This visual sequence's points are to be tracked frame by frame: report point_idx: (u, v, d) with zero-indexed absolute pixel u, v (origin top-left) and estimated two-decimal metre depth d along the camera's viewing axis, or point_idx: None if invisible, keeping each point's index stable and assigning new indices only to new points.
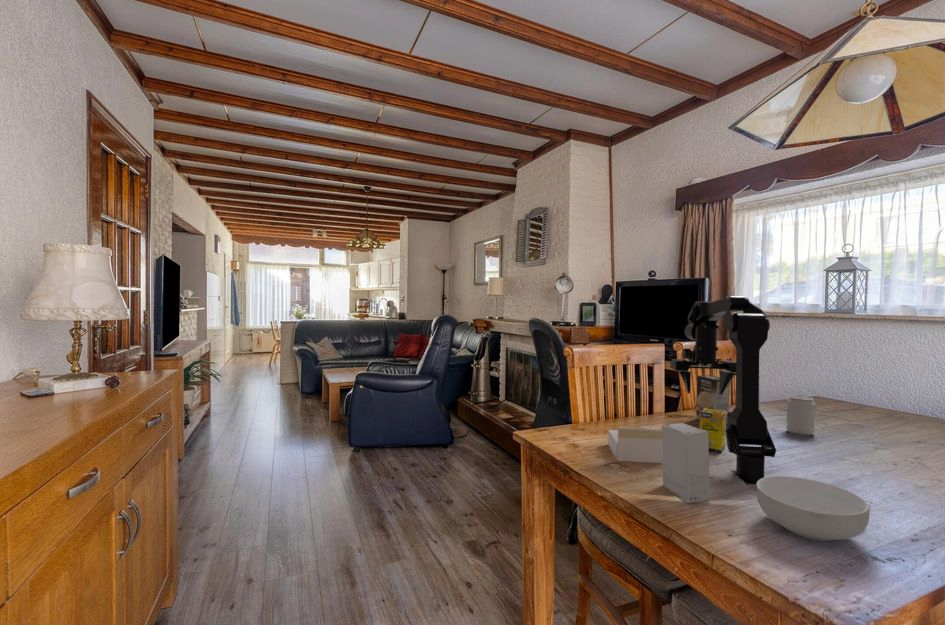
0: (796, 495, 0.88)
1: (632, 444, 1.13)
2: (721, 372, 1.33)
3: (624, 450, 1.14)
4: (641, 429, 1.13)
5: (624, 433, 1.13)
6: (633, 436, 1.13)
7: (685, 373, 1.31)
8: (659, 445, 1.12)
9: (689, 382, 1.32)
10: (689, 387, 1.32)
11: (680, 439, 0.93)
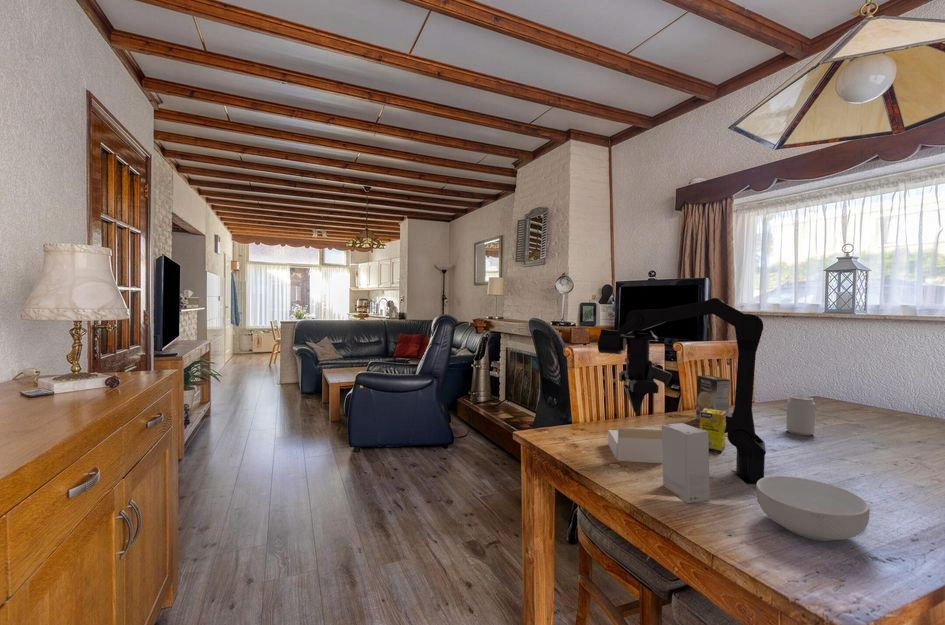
0: (796, 495, 0.88)
1: (632, 444, 1.13)
2: None
3: (624, 450, 1.14)
4: (641, 429, 1.13)
5: (624, 433, 1.13)
6: (633, 436, 1.13)
7: (624, 387, 1.21)
8: (659, 445, 1.12)
9: (629, 398, 1.20)
10: (631, 405, 1.19)
11: (680, 439, 0.93)
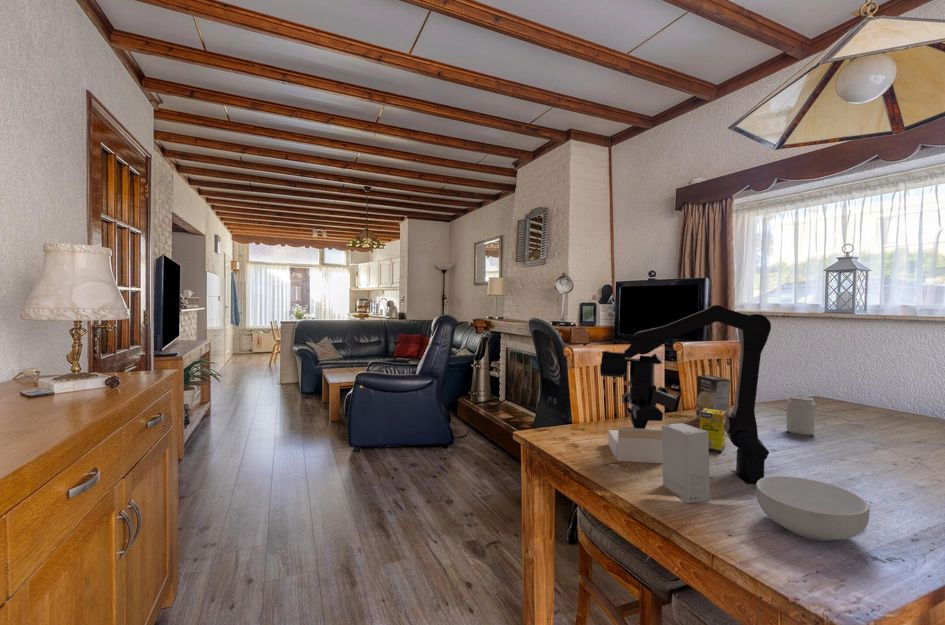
0: (796, 495, 0.88)
1: (632, 444, 1.13)
2: None
3: (624, 450, 1.13)
4: (641, 429, 1.13)
5: (624, 433, 1.13)
6: (633, 436, 1.13)
7: (627, 411, 1.17)
8: (659, 445, 1.12)
9: (632, 423, 1.16)
10: None
11: (680, 439, 0.93)
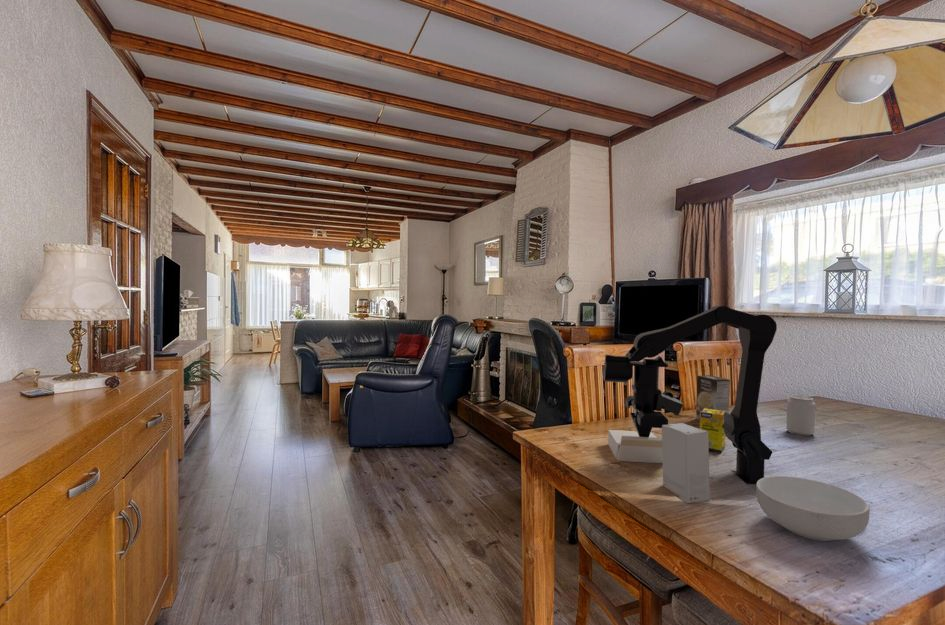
0: (796, 495, 0.88)
1: (634, 450, 1.11)
2: None
3: (625, 454, 1.12)
4: (645, 439, 1.09)
5: (627, 442, 1.10)
6: (636, 445, 1.10)
7: (631, 416, 1.13)
8: (662, 451, 1.10)
9: (636, 429, 1.11)
10: None
11: (680, 439, 0.93)
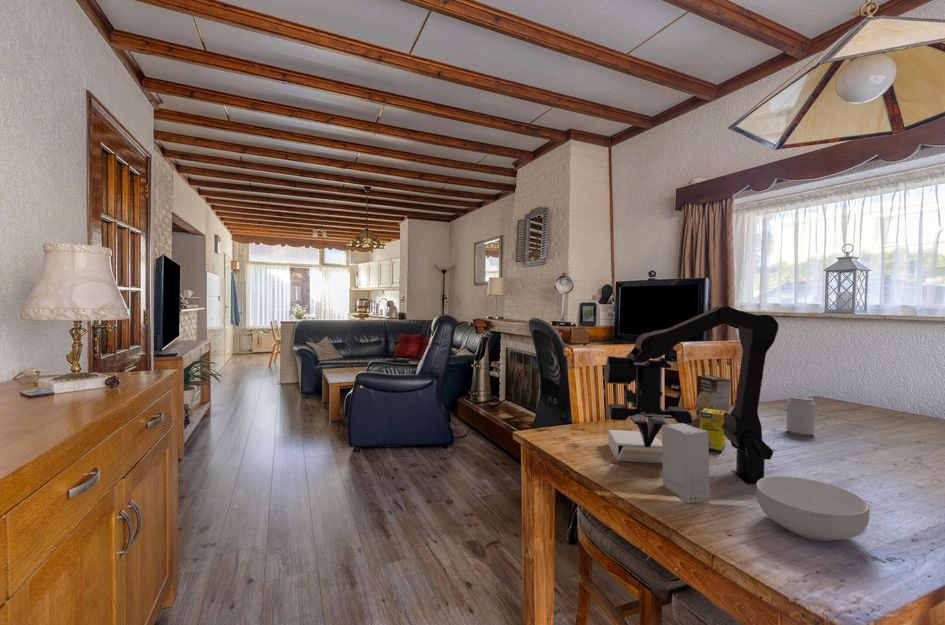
0: (796, 495, 0.88)
1: (635, 456, 1.10)
2: (649, 420, 1.09)
3: (626, 458, 1.12)
4: (647, 450, 1.07)
5: (628, 452, 1.08)
6: (637, 453, 1.08)
7: (641, 424, 1.05)
8: None
9: (646, 435, 1.06)
10: (646, 441, 1.07)
11: (680, 439, 0.93)
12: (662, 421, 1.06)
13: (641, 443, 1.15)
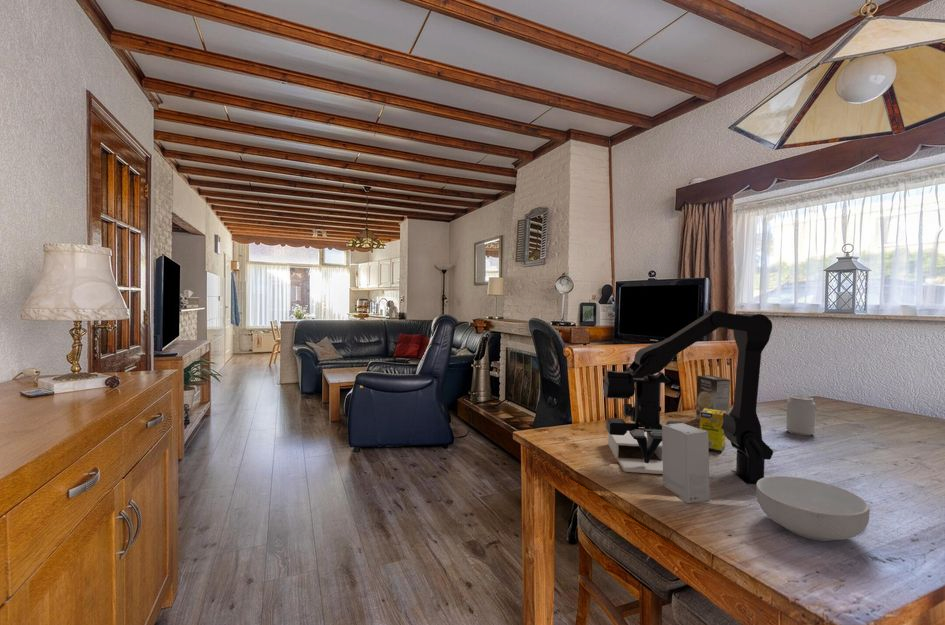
0: (796, 495, 0.88)
1: None
2: (648, 435, 1.09)
3: None
4: (649, 472, 1.05)
5: None
6: None
7: (640, 439, 1.05)
8: None
9: (645, 450, 1.06)
10: (645, 456, 1.07)
11: (680, 439, 0.93)
12: (661, 436, 1.06)
13: None
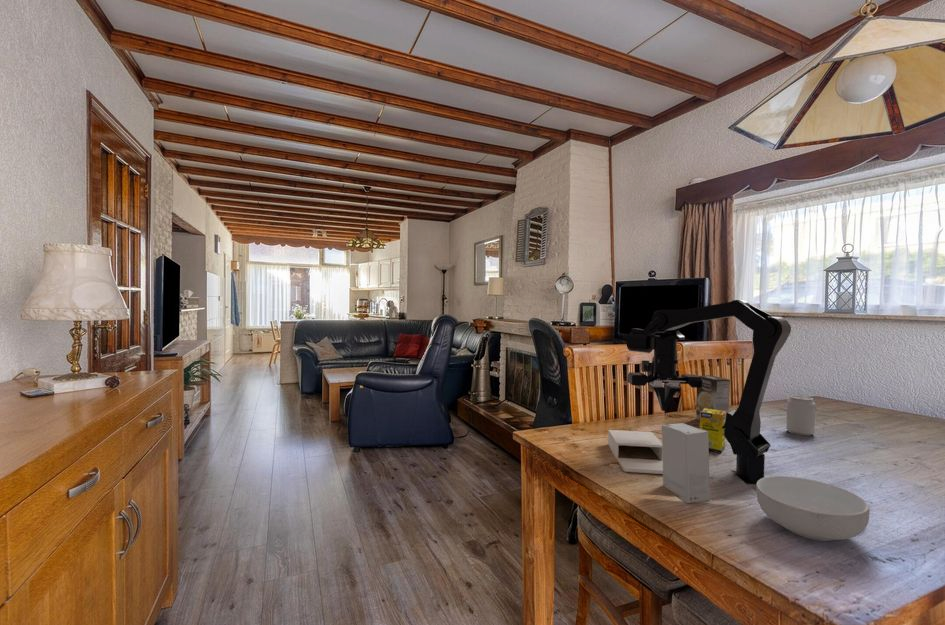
0: (796, 495, 0.88)
1: None
2: (665, 386, 1.22)
3: None
4: (649, 472, 1.05)
5: None
6: None
7: (659, 389, 1.19)
8: None
9: (663, 399, 1.20)
10: (663, 404, 1.20)
11: (680, 439, 0.93)
12: (677, 386, 1.20)
13: (641, 443, 1.15)
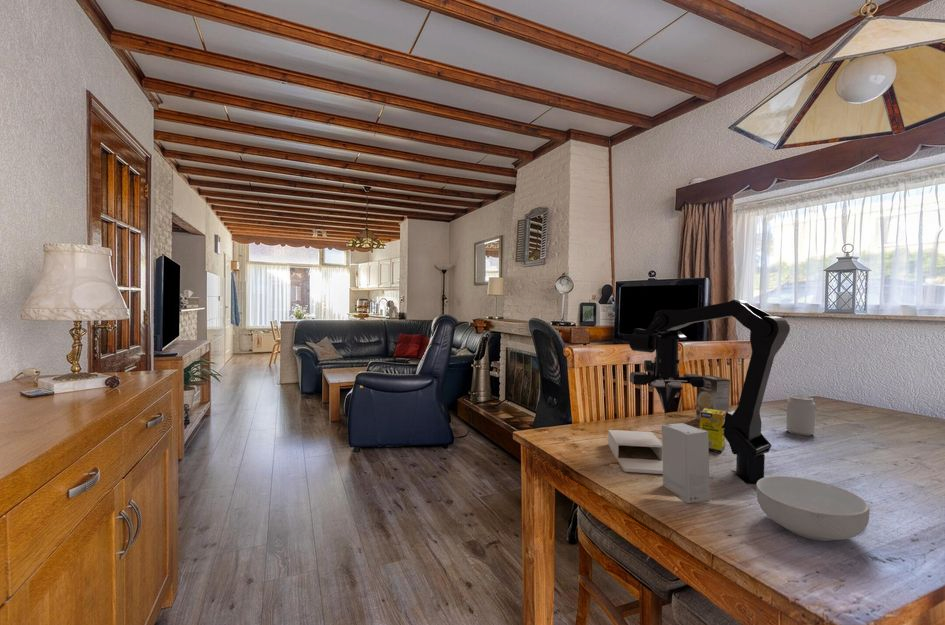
0: (796, 495, 0.88)
1: None
2: (667, 386, 1.24)
3: None
4: (649, 472, 1.05)
5: None
6: None
7: (660, 388, 1.20)
8: None
9: (665, 398, 1.21)
10: (665, 403, 1.22)
11: (680, 439, 0.93)
12: (679, 386, 1.21)
13: (641, 443, 1.15)
